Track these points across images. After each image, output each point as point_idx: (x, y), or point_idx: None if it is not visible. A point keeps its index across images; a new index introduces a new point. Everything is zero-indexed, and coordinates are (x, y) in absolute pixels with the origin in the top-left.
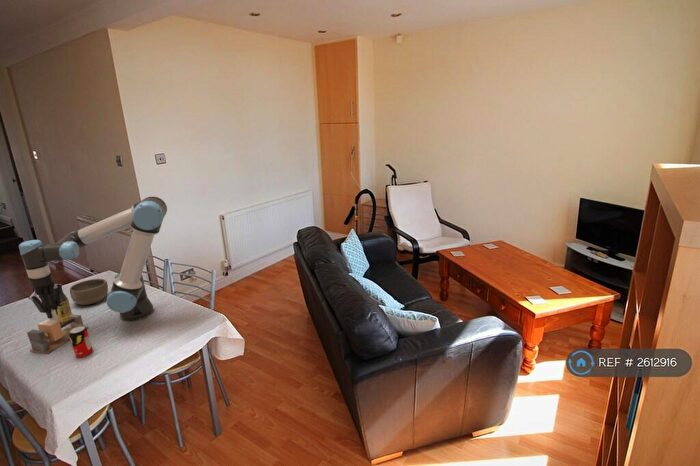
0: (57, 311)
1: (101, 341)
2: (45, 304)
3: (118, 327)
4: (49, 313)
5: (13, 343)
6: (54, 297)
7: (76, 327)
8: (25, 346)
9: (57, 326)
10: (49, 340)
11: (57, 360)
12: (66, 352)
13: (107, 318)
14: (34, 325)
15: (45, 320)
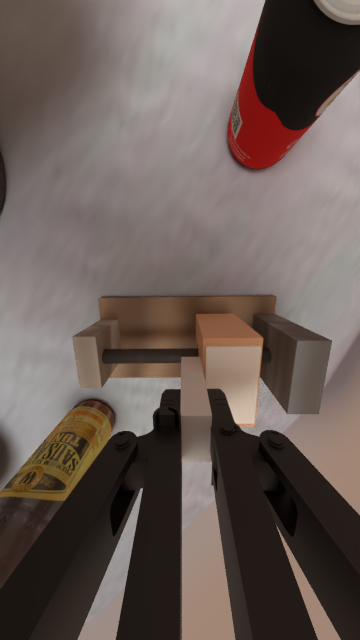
0: (87, 467)
1: (167, 140)
2: (276, 544)
3: (56, 159)
4: (226, 417)
5: None
6: (81, 600)
7: (326, 3)
8: None
9: (217, 329)
10: None
11: (308, 218)
12: (257, 232)
13: (21, 283)
14: None
15: None
